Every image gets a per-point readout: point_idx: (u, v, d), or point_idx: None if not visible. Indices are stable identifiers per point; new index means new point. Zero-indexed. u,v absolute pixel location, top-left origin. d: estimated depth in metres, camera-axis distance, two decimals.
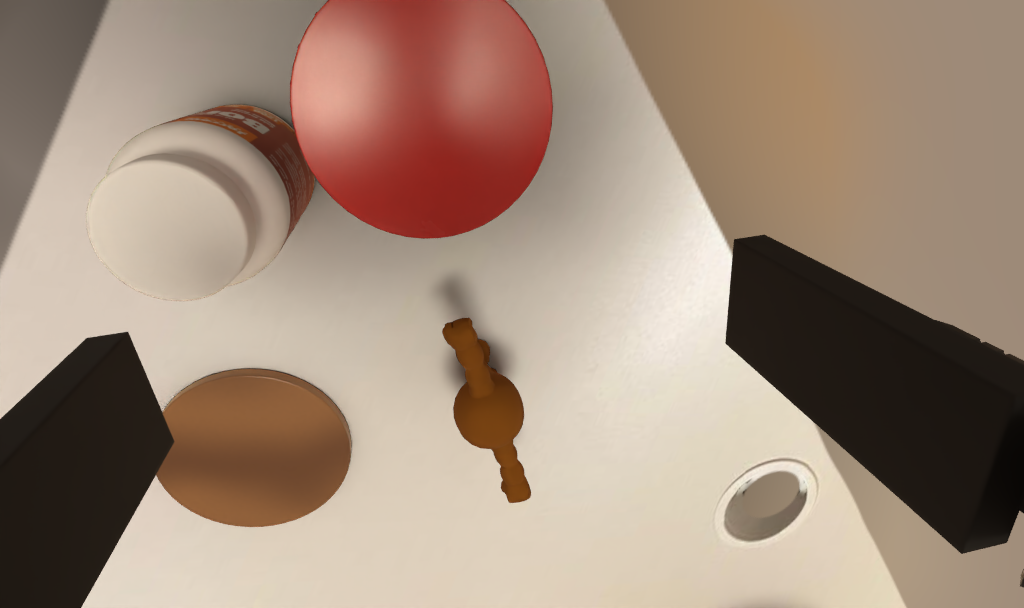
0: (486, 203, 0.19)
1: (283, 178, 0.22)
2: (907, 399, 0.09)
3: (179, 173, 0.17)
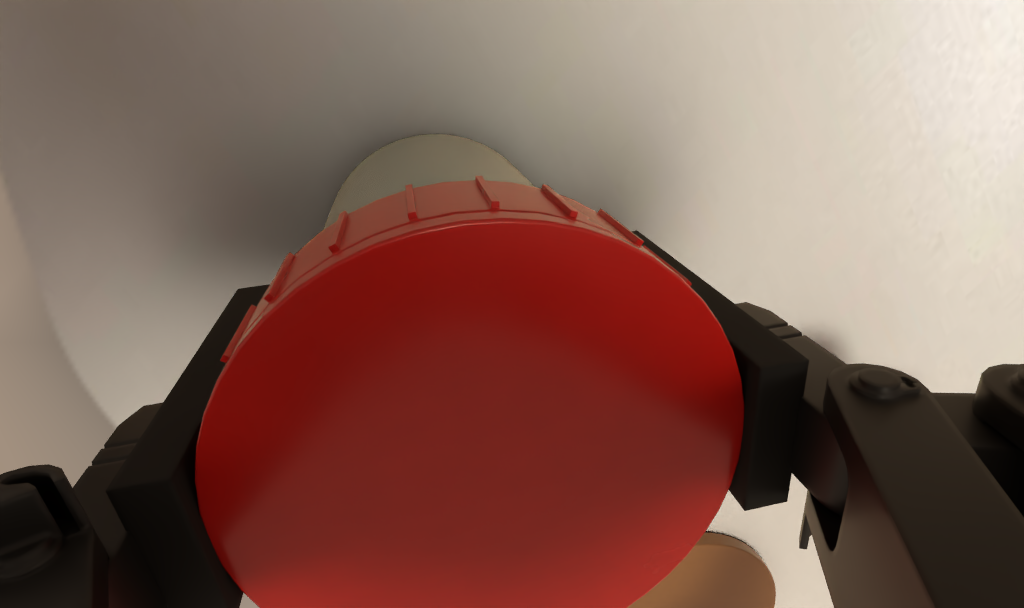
0: (703, 464, 0.09)
1: None
2: None
3: None
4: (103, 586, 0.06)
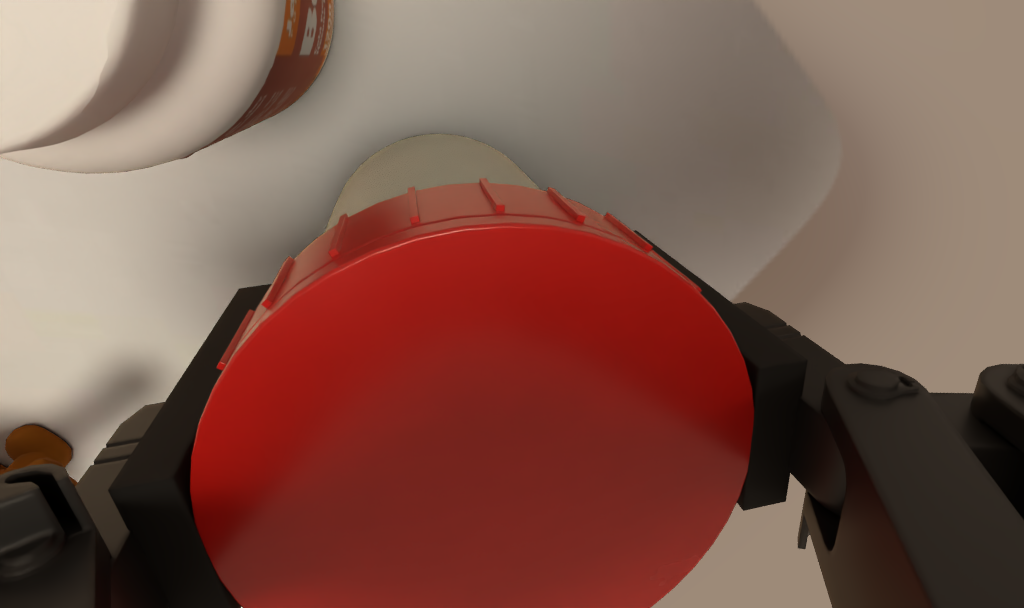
0: (712, 474, 0.09)
1: (224, 135, 0.10)
2: None
3: None
4: (105, 585, 0.06)
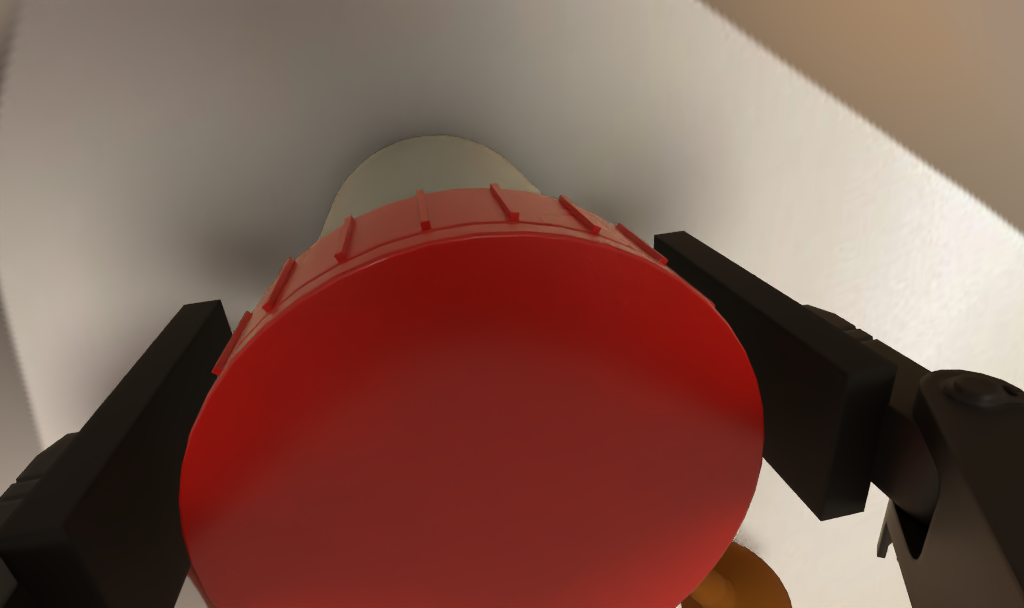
0: (443, 294, 0.06)
1: None
2: (778, 380, 0.09)
3: None
4: None
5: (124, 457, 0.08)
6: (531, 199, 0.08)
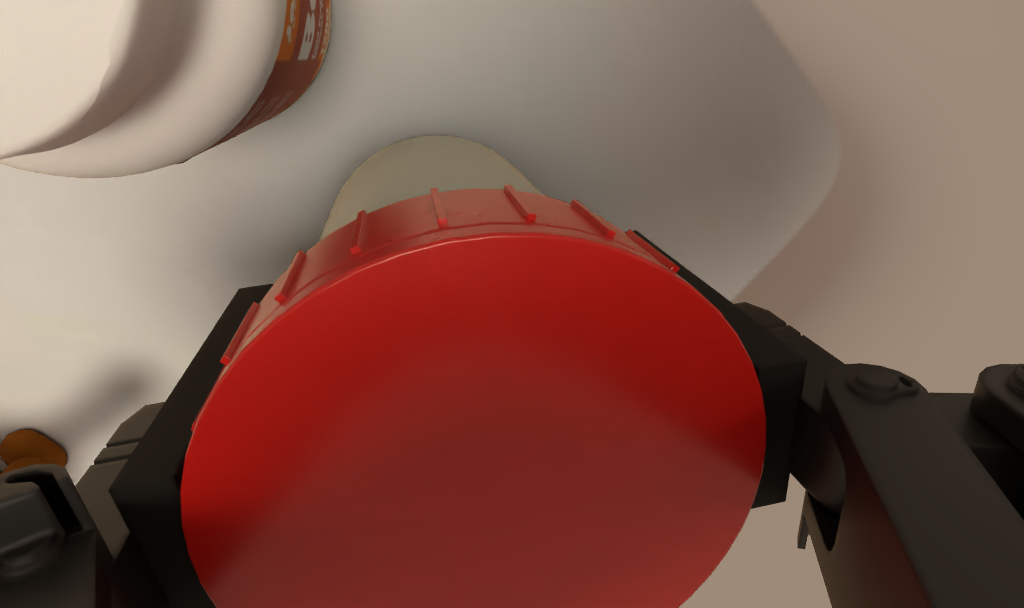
0: (317, 357, 0.06)
1: (221, 141, 0.10)
2: None
3: None
4: (106, 585, 0.06)
5: None
6: (395, 212, 0.08)
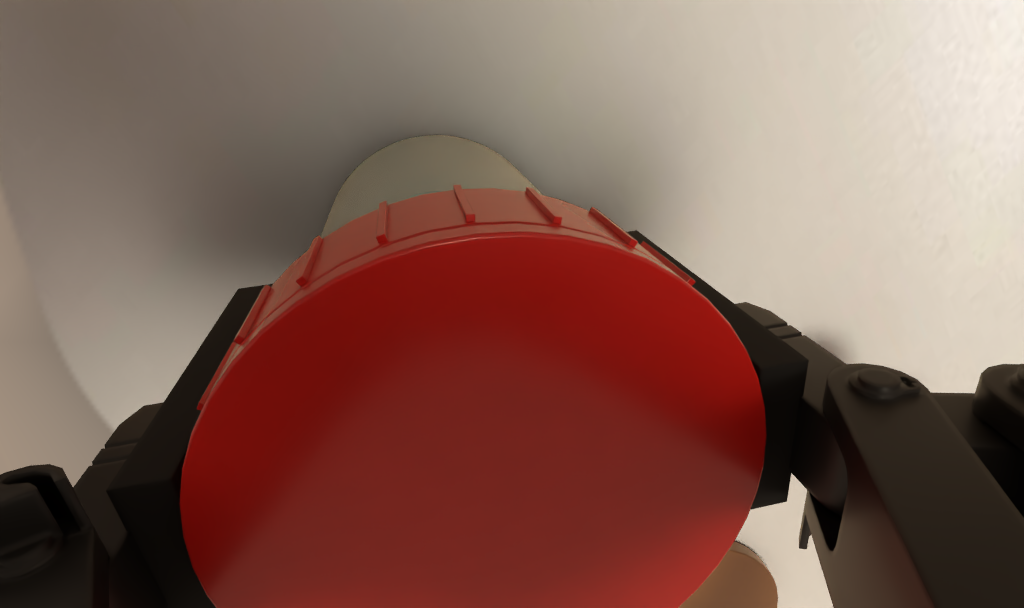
0: None
1: None
2: None
3: None
4: (104, 586, 0.06)
5: None
6: None
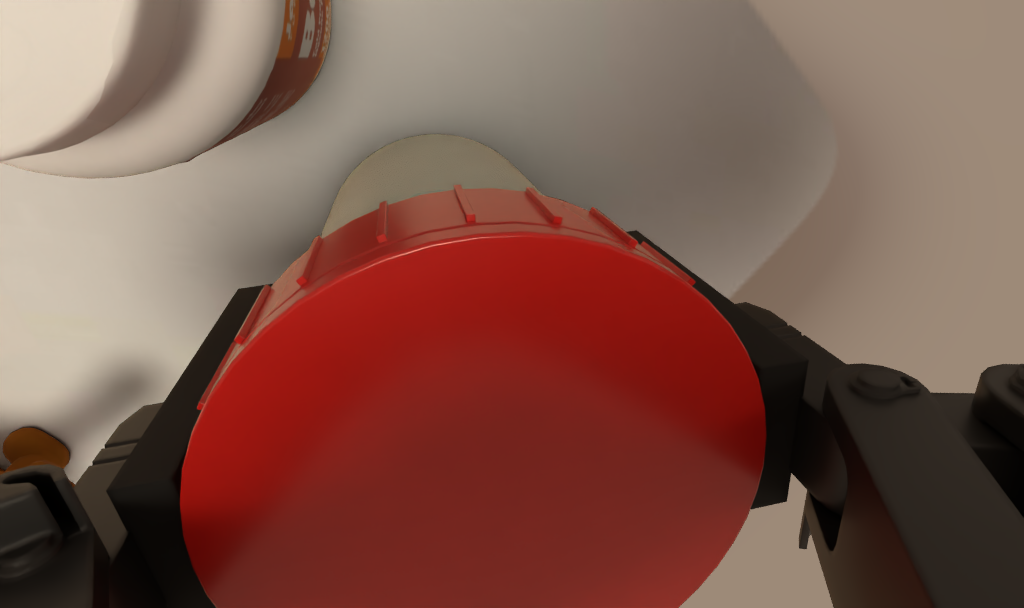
0: None
1: (225, 139, 0.10)
2: None
3: None
4: (104, 585, 0.06)
5: None
6: None
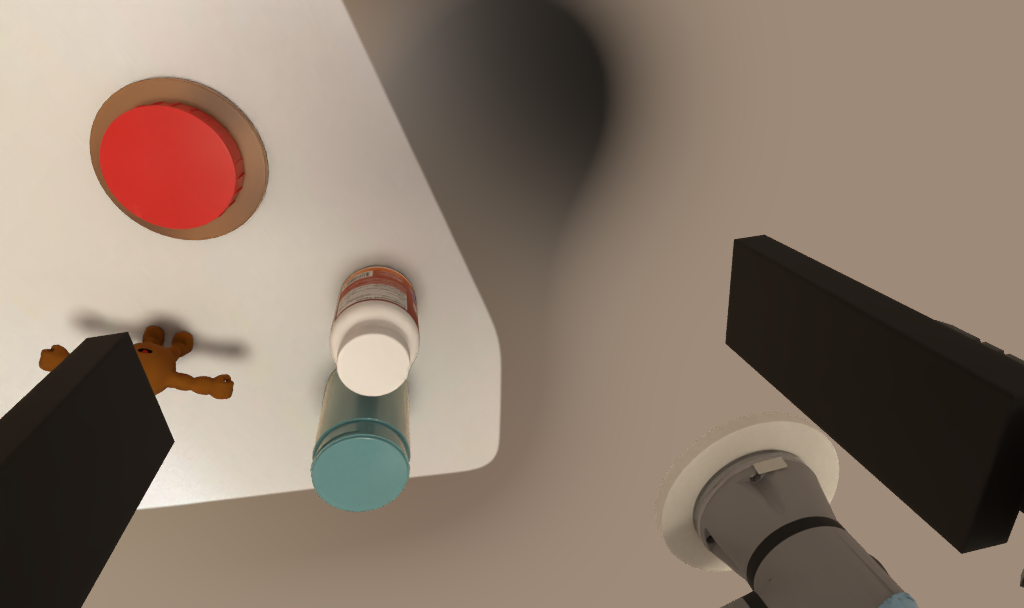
0: (170, 219, 0.38)
1: None
2: (907, 399, 0.09)
3: (394, 386, 0.38)
4: None
5: None
6: None
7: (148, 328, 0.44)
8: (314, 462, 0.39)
